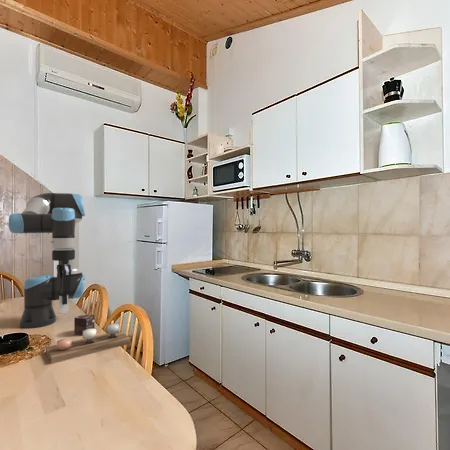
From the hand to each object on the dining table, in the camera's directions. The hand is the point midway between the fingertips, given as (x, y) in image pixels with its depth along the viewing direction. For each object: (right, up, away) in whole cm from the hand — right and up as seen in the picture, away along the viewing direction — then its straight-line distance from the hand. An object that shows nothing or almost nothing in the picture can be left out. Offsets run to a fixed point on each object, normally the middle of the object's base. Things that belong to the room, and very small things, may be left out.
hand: (63, 312), depth 111 cm
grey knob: (+14, -13, +11) cm, 22 cm away
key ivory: (+7, -13, +5) cm, 16 cm away
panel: (+7, -15, +5) cm, 18 cm away
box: (-3, -16, +22) cm, 28 cm away
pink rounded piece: (0, -15, 0) cm, 15 cm away
